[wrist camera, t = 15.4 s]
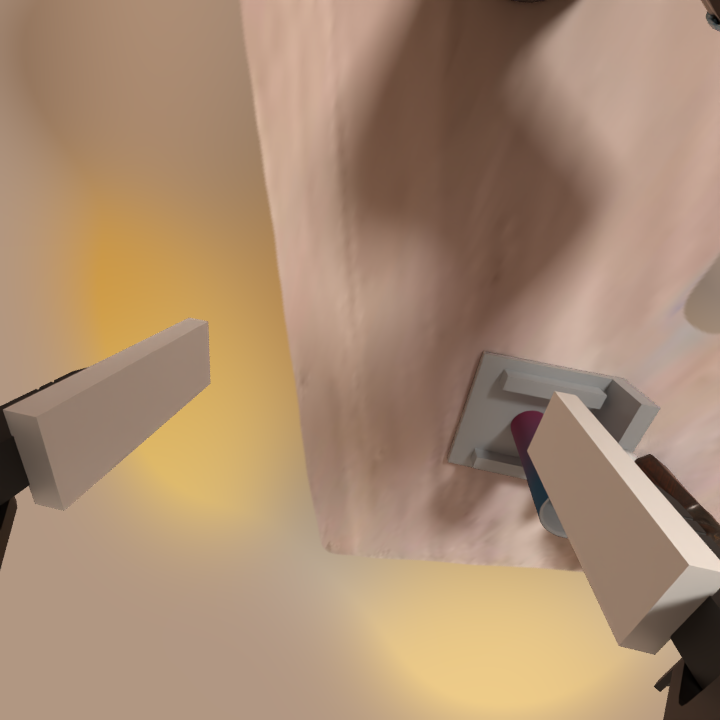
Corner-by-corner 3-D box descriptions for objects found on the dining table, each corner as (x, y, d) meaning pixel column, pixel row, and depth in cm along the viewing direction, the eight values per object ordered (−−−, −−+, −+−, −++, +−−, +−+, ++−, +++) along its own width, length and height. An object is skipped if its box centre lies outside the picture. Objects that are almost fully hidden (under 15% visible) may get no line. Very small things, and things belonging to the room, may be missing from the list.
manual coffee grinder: (622, 530, 53) (714, 671, 37) (579, 487, 51) (657, 617, 35) (731, 481, 47) (898, 625, 31) (688, 431, 45) (844, 556, 29)
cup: (526, 454, 49) (570, 548, 35) (492, 425, 48) (524, 512, 34) (567, 425, 46) (631, 516, 33) (533, 395, 45) (584, 475, 32)
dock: (483, 351, 45) (498, 381, 37) (624, 378, 44) (670, 416, 36) (447, 457, 52) (453, 501, 45) (566, 483, 51) (594, 533, 43)
